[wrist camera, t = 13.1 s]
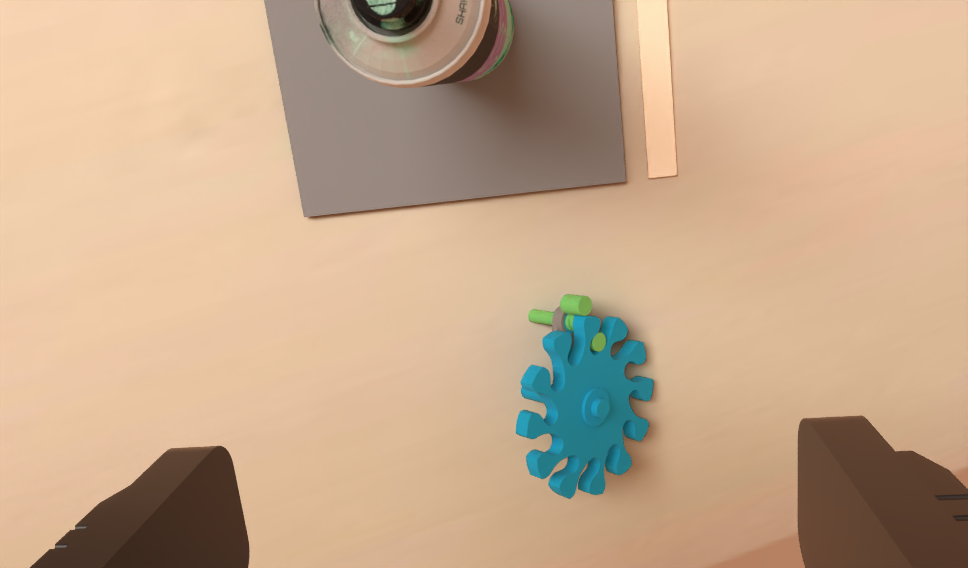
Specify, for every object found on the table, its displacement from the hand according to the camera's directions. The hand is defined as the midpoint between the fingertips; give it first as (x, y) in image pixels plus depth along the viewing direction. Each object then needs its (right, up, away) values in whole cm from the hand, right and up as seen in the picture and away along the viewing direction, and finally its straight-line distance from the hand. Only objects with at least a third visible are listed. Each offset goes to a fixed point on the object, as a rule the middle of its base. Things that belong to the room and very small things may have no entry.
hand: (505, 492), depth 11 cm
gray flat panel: (-1, +16, +30) cm, 34 cm away
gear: (+6, -2, +35) cm, 35 cm away
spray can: (-1, +16, +30) cm, 34 cm away
